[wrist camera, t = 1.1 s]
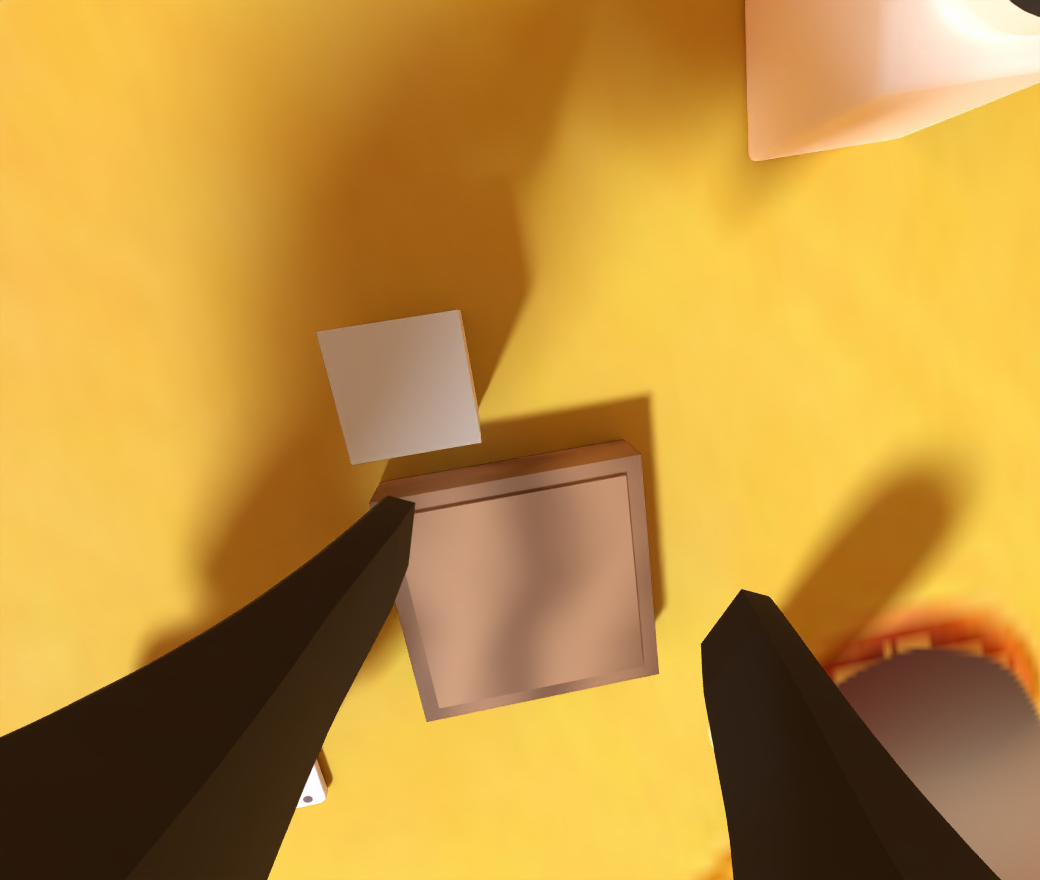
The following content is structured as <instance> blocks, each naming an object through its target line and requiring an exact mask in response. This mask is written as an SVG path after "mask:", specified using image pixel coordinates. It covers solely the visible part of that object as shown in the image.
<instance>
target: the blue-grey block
mask: <svg viewBox="0 0 1040 880" xmlns="http://www.w3.org/2000/svg"><path fill="white" fill-rule="evenodd" d="M316 334H317V338H318V342H319V345H320V349H321V353H322V357H323V360H324V364H325V368H326V372H327V375H328V379H329V383H330V387H331V390H332V394H333V398H334V402H335V405H336V409H337V413H338V417H339V420H340V424H341V428H342V432H343V435H344V439H345V443H346V447H347V450H348V454H349V458H350V462H351V465H356V464H361V463H367V462H373V461H379V460H384V459H390V458H396V457H402V456H407V455H413V454H419V453H424V452H430V451H436V450H442V449H447V448H453V447H459V446H465V445H470V444H476V443H482V442H481V431H480V420H479V409H478V403H477V398H476V392H475V387H474V381H473V375H472V370H471V364H470V359H469V353H468V348H467V342H466V336H465V331H464V325H463V320H462V314H461V310H452V311H446V312H439V313H433V314H426V315H420V316H414V317H407V318H401V319H395V320H388V321H382V322H375V323H369V324H363V325H356V326H350V327H343V328H337V329H331V330H324V331H318V332H316Z"/></svg>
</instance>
